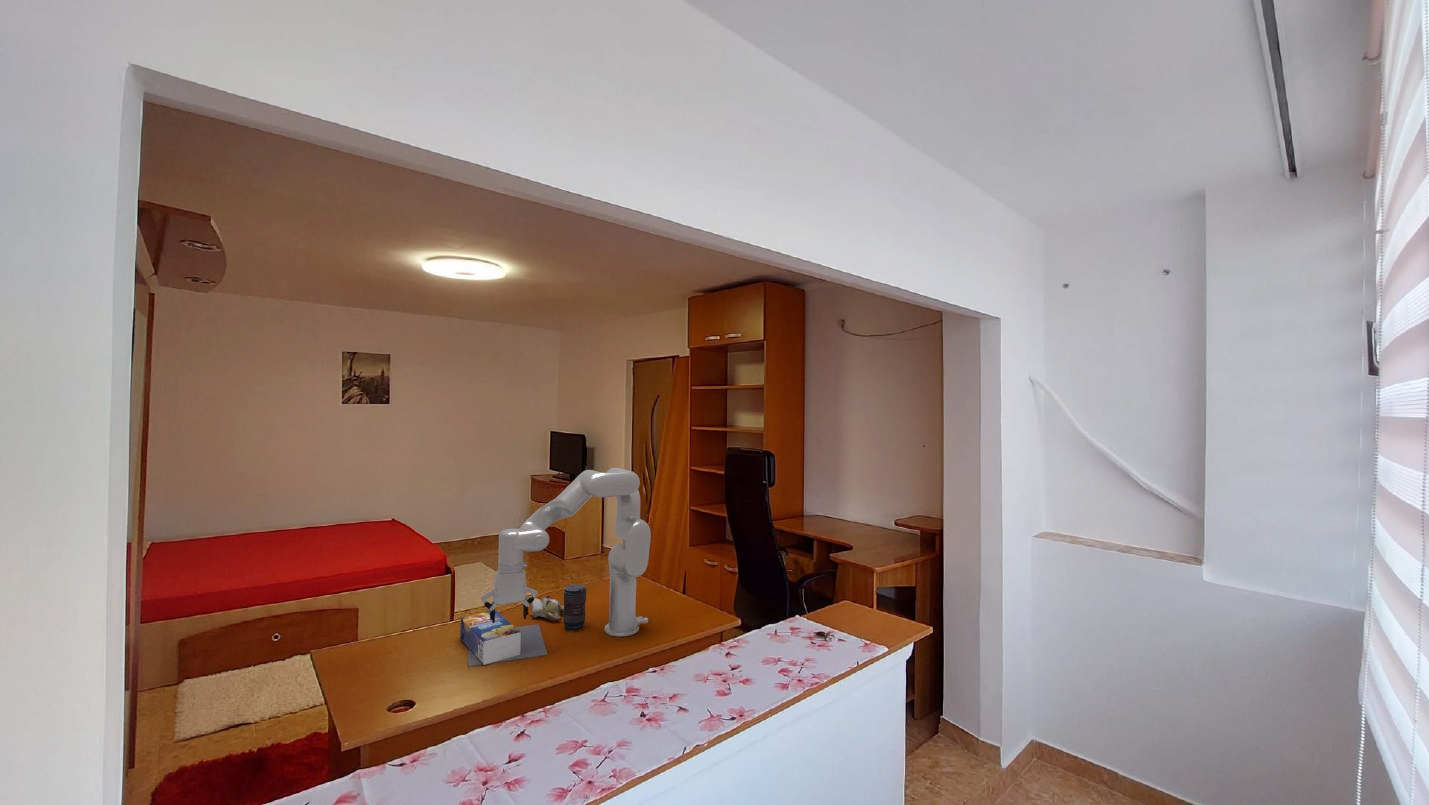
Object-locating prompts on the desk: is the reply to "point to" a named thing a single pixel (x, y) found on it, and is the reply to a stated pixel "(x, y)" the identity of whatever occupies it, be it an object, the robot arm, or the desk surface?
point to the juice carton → (490, 637)
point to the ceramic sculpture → (547, 608)
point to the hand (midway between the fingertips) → (509, 619)
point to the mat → (528, 646)
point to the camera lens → (574, 607)
